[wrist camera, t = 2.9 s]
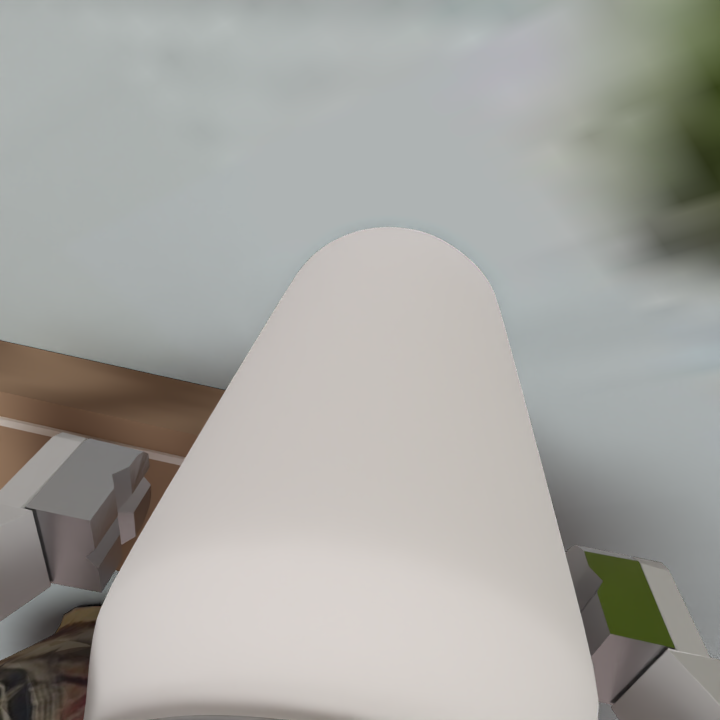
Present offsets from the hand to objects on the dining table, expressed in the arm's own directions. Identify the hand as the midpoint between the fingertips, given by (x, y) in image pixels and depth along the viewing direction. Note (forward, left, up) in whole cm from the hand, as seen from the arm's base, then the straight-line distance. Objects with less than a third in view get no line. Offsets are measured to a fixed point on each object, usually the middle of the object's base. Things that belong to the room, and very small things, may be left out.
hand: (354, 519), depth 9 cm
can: (0, 0, -8) cm, 8 cm away
